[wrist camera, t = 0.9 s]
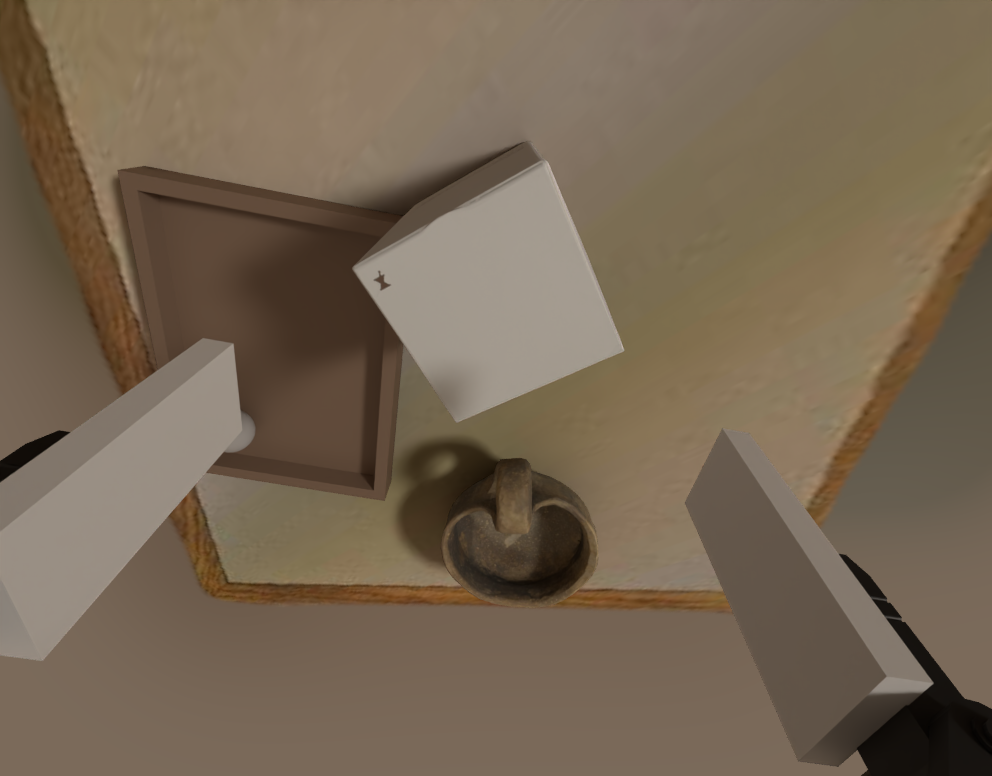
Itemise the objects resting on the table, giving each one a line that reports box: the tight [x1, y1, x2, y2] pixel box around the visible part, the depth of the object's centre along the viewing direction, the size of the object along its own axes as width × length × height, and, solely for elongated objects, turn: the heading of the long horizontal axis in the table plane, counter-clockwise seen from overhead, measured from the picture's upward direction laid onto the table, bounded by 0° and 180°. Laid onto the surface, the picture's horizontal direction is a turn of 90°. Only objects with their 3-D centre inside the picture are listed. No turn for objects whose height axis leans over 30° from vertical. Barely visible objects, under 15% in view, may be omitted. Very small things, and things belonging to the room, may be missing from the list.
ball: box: [224, 410, 255, 453], centre depth 39 cm, size 4×4×4 cm
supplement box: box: [352, 141, 624, 422], centre depth 27 cm, size 9×9×15 cm
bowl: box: [441, 458, 598, 608], centre depth 41 cm, size 14×18×10 cm
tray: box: [118, 166, 403, 501], centre depth 37 cm, size 24×18×2 cm
